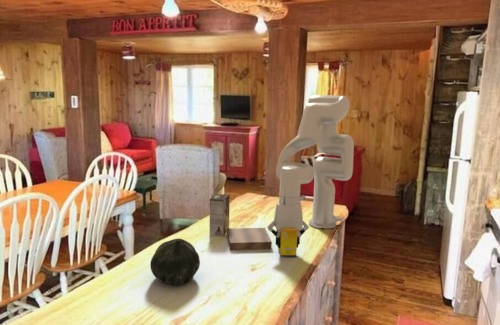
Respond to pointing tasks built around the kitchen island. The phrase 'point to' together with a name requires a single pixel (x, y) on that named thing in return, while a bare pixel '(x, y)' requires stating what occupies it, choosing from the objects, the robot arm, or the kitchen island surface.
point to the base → (248, 239)
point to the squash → (175, 262)
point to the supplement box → (288, 242)
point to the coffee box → (219, 215)
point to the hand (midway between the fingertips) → (287, 246)
